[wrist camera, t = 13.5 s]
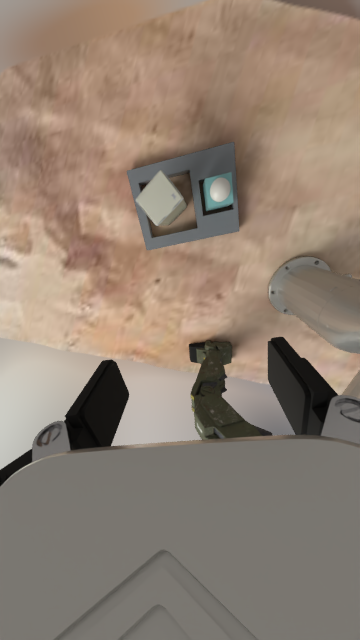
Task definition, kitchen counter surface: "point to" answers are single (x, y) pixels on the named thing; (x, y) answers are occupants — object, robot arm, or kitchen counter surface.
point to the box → (161, 200)
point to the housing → (199, 169)
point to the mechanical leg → (216, 395)
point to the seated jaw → (218, 191)
